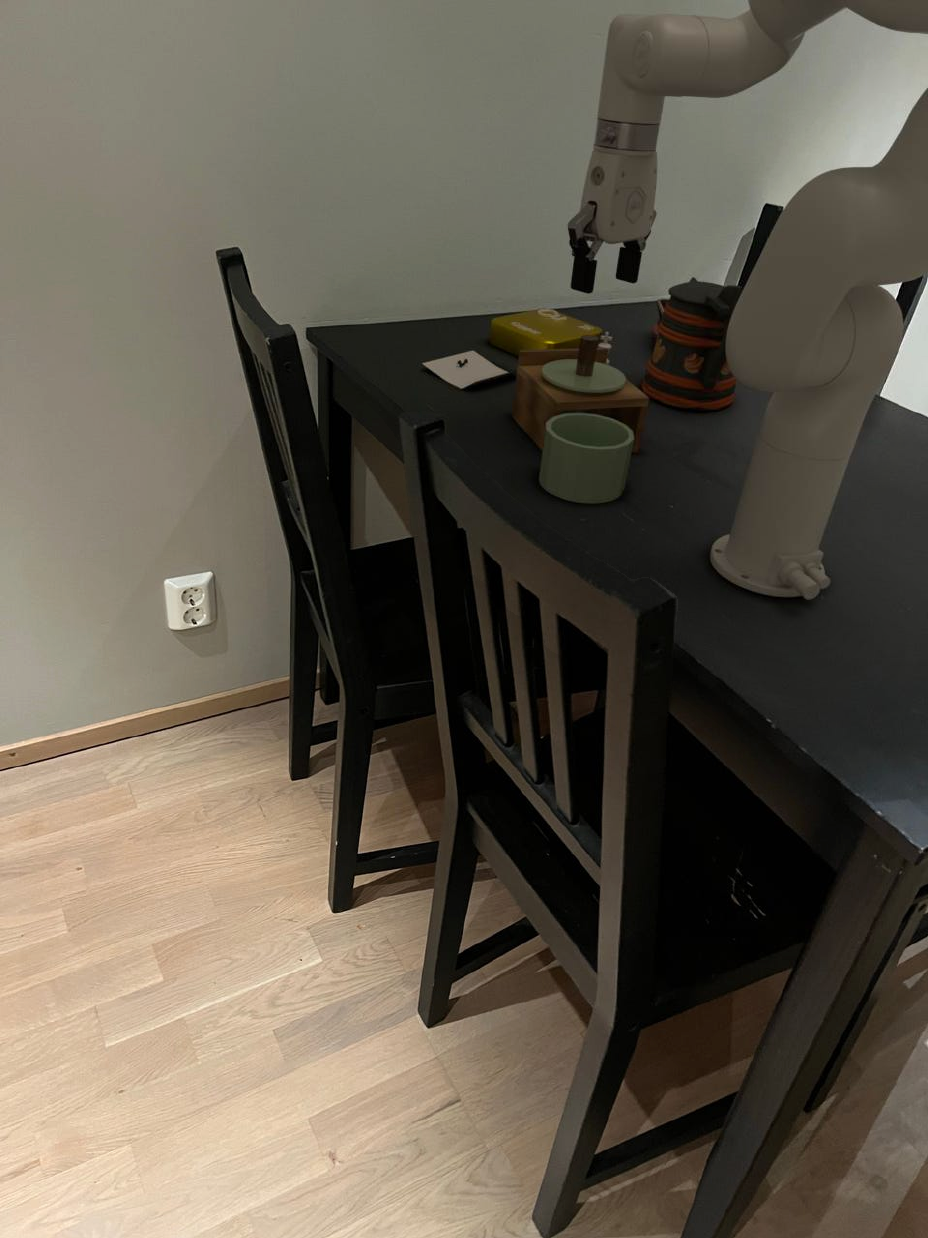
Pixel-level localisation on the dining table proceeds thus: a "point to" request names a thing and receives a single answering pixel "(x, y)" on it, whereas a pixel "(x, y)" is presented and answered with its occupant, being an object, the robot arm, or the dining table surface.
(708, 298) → the beer stein
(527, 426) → the shelf
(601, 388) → the lid
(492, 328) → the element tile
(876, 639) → the dining table surface
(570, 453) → the pot
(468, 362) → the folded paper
